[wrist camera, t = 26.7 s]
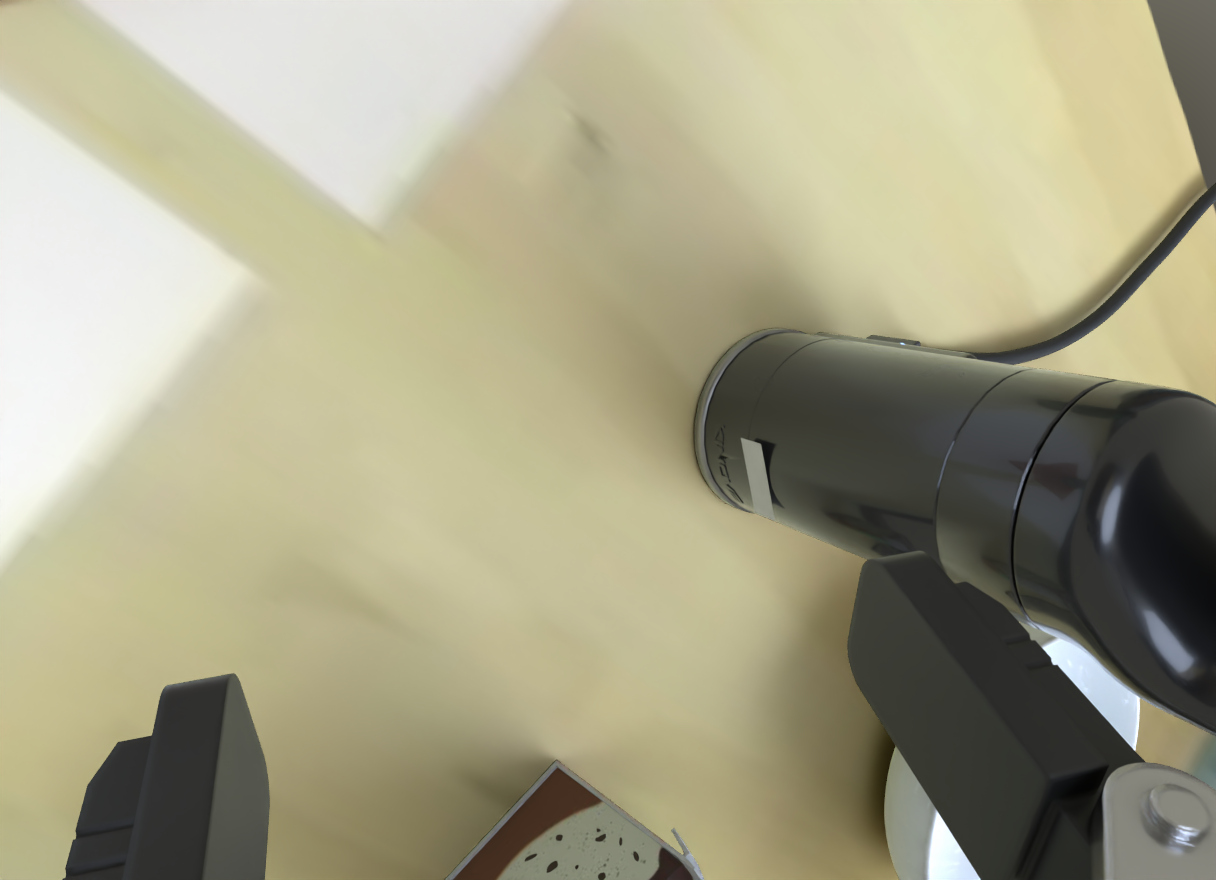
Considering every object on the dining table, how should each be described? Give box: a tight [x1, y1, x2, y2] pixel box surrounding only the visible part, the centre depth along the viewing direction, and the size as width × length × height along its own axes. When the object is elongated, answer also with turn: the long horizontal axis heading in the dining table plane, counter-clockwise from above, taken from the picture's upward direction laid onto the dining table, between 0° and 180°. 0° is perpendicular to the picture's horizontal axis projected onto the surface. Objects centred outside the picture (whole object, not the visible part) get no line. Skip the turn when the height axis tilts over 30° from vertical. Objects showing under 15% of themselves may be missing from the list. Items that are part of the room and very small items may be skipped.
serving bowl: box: [884, 623, 1140, 880], centre depth 57 cm, size 21×21×7 cm
